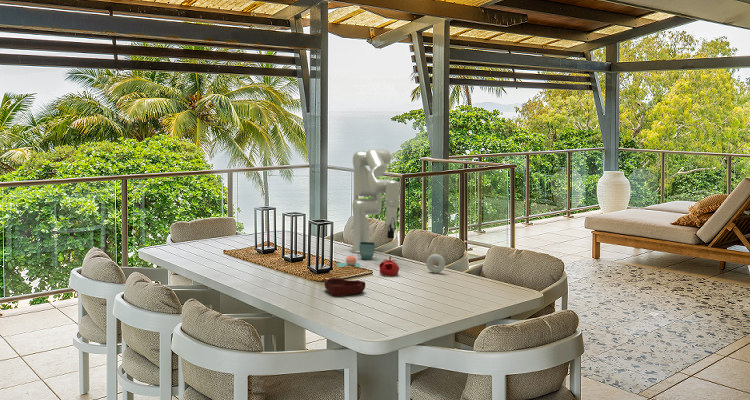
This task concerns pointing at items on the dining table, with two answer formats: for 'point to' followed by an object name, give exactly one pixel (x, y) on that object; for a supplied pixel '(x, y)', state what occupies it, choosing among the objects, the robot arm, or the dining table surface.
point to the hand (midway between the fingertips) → (390, 238)
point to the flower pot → (367, 250)
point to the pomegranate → (389, 268)
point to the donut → (440, 261)
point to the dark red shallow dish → (344, 286)
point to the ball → (351, 260)
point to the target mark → (348, 265)
